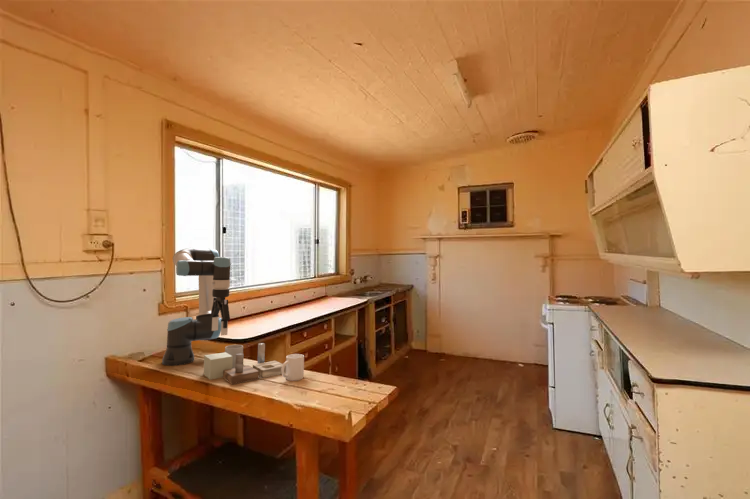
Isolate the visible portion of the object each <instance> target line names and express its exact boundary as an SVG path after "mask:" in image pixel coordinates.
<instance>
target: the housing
mask: <svg viewBox="0 0 750 499" xmlns="http://www.w3.org/2000/svg"><path fill="white" fill-rule="evenodd" d="M232 364H233V356H231V355H230V354H228V353H226V352H225V351H224V352H219V353H211V354H204V355H203V374H202V375H204V377H206V378H207V379H208V380H210V381H211V380H215V379H221V378H223V370H227V369H232Z"/></svg>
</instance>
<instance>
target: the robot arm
mask: <svg viewBox="0 0 750 499" xmlns="http://www.w3.org/2000/svg"><path fill="white" fill-rule="evenodd" d="M172 262H173V264H174V265H175V273H176V275H177V276H179V277H180V276H183V277H192V276H193V277H194V276H198V313H197V315H196V316H195V319H193V317H191V316H186V317H184V316H183V317H179V318H173V319H171V320H170V321H169V322H168V323H167V329H166V330H167V333H166V334H167V335H166V349H165V352H164V354H163V357H162V360H161V361H162V362H161V364H162V365H164V366H169V367H170V366H172V367H174V366H181V365H186V364H191V363H193V362H195V353H194V351H193V347H192V342H197V341H205V340H209V341H210V340H214V339H217V338H219V337H220V336H228V328H229V327H228V326H229V325H228V324H229V321H230V320H231V317H230V316H231V315H230V310H229V309H230V308H229V300H228V299H226V298H228V297H229V296H230V287H231V279H230V278H231V265H232V264H231V258H230V257H228V256H227V257H226V256H225V257H224V256H220V254H219V252H218V250H217V249H213V248H193V247H192V248H191V247H189V248H184V249H180V250H179V251H177V252H175V253H174V255H173V257H172ZM219 313H220V315H219ZM220 316H221V317H220Z"/></svg>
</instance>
